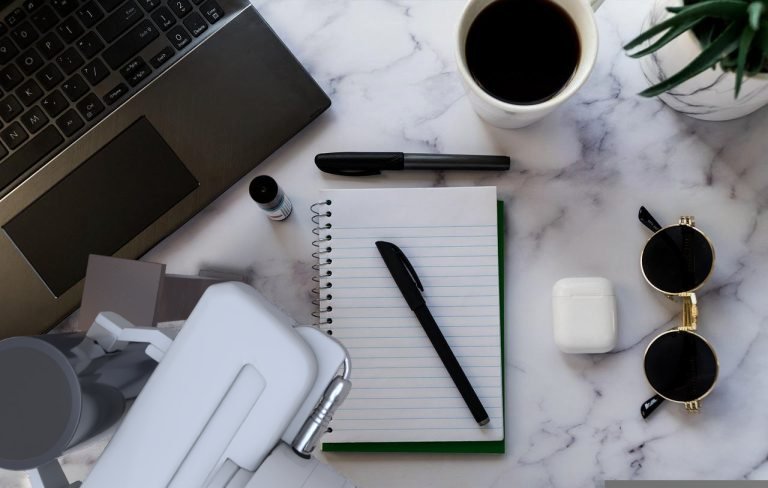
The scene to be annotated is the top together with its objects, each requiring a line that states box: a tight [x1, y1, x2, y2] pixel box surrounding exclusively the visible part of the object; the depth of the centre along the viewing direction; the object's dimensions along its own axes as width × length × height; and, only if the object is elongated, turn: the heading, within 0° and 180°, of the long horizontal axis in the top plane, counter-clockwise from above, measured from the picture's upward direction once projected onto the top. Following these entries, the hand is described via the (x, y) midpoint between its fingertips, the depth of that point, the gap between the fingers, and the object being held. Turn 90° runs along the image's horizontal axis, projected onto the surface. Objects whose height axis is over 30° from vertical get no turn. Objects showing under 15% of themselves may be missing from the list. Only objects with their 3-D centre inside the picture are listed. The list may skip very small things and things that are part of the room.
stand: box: [76, 253, 249, 331], centre depth 57 cm, size 6×6×22 cm
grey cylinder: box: [0, 330, 159, 472], centre depth 36 cm, size 6×6×10 cm
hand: (59, 382), depth 35 cm, fingers closed on grey cylinder, 6 cm apart
